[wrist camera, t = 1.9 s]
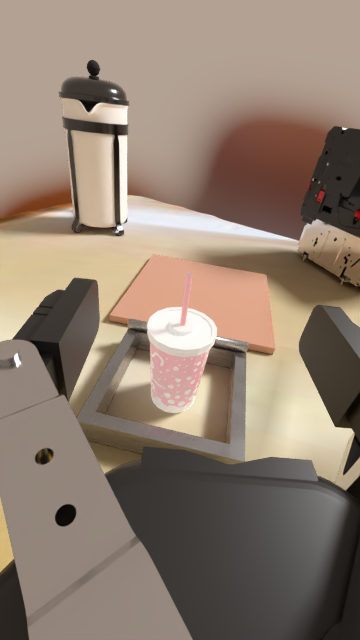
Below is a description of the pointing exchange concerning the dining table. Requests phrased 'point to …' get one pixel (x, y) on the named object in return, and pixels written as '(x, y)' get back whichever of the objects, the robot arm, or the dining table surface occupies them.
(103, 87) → the coffee press
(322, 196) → the bill acceptor
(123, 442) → the square metal frame
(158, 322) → the beverage cup
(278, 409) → the dining table surface
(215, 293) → the terracotta tile
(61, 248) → the dining table surface
